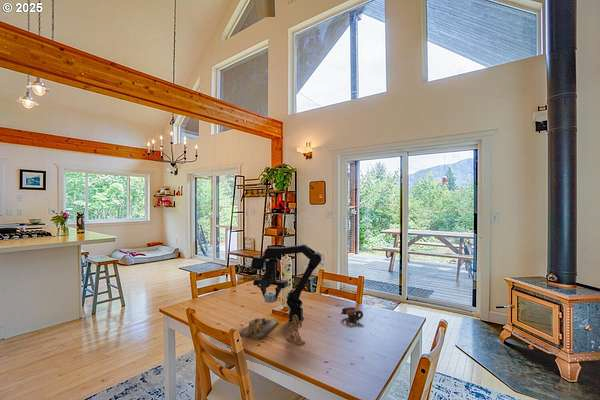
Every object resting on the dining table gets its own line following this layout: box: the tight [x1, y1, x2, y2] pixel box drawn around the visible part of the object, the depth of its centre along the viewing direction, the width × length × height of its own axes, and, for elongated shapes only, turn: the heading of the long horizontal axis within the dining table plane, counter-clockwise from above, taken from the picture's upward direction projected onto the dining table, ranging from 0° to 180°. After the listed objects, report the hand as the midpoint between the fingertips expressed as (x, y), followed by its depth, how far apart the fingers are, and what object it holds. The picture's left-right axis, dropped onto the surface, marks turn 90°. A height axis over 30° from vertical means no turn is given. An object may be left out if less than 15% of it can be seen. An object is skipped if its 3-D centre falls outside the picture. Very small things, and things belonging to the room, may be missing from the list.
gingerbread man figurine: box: [285, 315, 306, 347], centre depth 131 cm, size 9×4×12 cm, turn 45°
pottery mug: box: [340, 306, 364, 325], centre depth 153 cm, size 12×10×8 cm
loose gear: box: [263, 291, 277, 304], centre depth 156 cm, size 7×7×4 cm
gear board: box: [239, 317, 279, 341], centre depth 143 cm, size 12×18×6 cm, turn 160°
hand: (270, 298), depth 156 cm, fingers closed on loose gear, 7 cm apart
